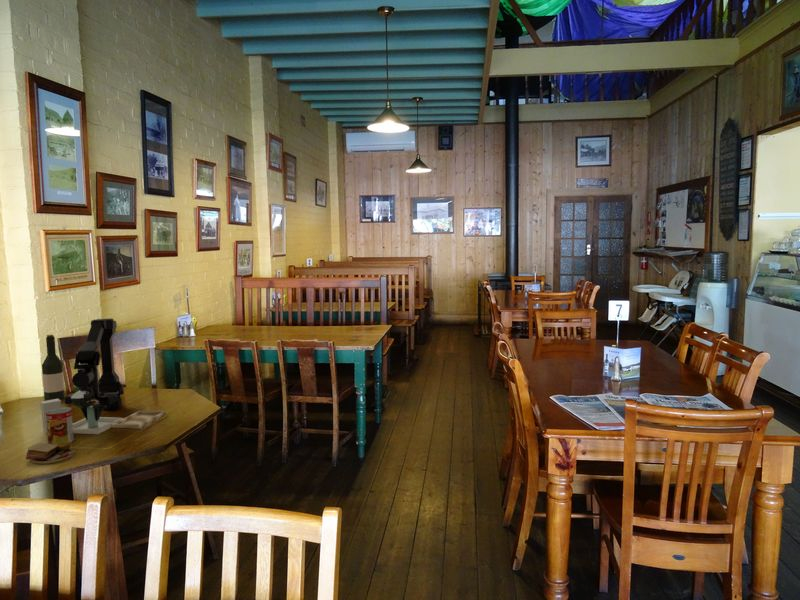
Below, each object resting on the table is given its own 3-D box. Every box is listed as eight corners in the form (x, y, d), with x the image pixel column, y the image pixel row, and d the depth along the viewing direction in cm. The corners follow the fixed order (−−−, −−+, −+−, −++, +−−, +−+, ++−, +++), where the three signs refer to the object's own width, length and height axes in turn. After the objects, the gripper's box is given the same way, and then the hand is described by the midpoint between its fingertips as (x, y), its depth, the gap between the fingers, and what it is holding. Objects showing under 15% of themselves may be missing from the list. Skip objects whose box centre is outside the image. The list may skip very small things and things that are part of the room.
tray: (141, 429, 218) (140, 425, 218) (112, 428, 219) (111, 424, 219) (166, 415, 236) (166, 411, 235) (139, 414, 237) (139, 410, 237)
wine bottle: (58, 401, 259) (53, 336, 256) (40, 401, 259) (35, 336, 256) (69, 396, 267) (64, 333, 264) (51, 396, 267) (46, 333, 264)
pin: (86, 428, 219) (84, 408, 218) (92, 425, 222) (90, 405, 221) (94, 428, 218) (92, 408, 218) (100, 425, 222) (98, 405, 221)
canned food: (50, 440, 207) (47, 408, 206) (75, 437, 210) (72, 406, 209) (46, 447, 200) (44, 414, 198) (72, 444, 203) (69, 411, 201)
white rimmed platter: (61, 434, 214) (61, 428, 214) (88, 421, 229) (88, 416, 229) (98, 435, 212) (98, 430, 212) (122, 422, 227) (122, 417, 227)
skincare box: (60, 428, 221) (58, 398, 220) (63, 430, 218) (61, 400, 217) (42, 432, 217) (40, 401, 215) (45, 434, 214) (43, 403, 212)
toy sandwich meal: (57, 466, 183) (56, 452, 183) (18, 465, 185) (17, 451, 184) (82, 452, 196) (81, 438, 195) (46, 451, 197) (45, 438, 197)
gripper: (52, 385, 212) (55, 426, 213) (98, 387, 209) (101, 428, 211) (73, 378, 223) (76, 417, 224) (117, 379, 220) (119, 418, 222)
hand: (92, 420), depth 220 cm, fingers closed on pin, 3 cm apart
